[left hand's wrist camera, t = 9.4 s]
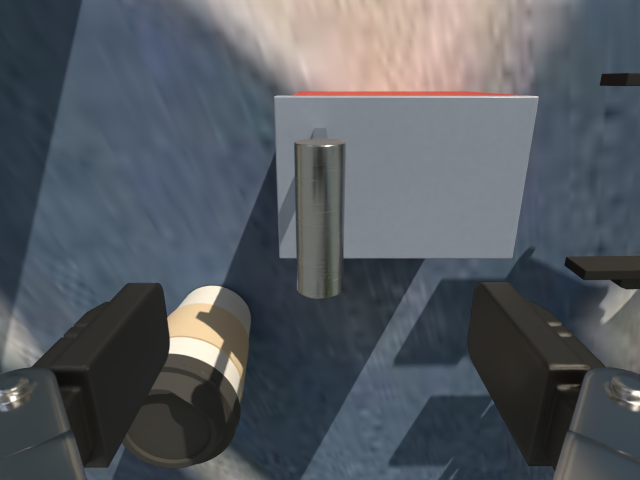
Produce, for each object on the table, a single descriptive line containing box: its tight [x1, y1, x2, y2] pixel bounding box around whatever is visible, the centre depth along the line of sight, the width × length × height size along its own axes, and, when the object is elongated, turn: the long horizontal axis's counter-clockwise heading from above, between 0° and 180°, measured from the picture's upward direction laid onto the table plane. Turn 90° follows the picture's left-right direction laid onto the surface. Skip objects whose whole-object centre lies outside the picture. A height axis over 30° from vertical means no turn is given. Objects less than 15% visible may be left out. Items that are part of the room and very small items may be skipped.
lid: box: [274, 96, 539, 299], centre depth 22 cm, size 15×10×10 cm, turn 90°
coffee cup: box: [122, 286, 251, 468], centre depth 35 cm, size 9×9×15 cm
